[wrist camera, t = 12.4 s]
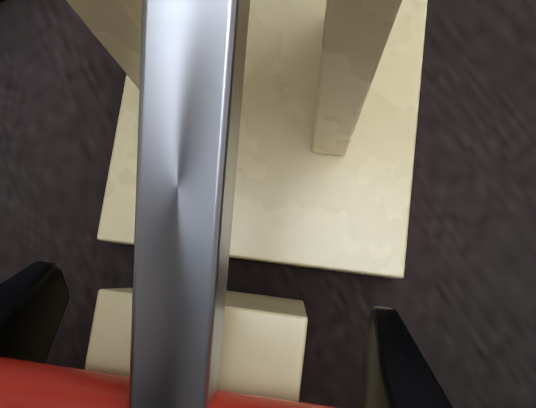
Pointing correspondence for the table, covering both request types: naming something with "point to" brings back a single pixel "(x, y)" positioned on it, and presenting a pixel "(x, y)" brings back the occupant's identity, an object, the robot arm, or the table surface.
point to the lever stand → (299, 130)
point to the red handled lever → (172, 224)
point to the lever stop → (233, 342)
